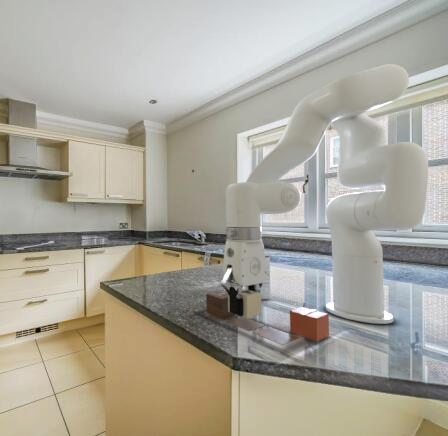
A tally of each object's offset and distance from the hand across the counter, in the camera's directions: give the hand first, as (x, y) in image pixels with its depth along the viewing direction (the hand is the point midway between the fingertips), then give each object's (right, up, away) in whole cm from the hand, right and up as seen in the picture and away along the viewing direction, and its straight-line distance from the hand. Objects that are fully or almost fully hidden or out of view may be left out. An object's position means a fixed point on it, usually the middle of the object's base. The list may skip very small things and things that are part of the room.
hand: (244, 311), depth 58 cm
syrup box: (+15, -4, +21) cm, 26 cm away
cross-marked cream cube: (0, 0, 0) cm, 0 cm away
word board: (0, -3, 0) cm, 3 cm away
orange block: (+11, -3, -6) cm, 13 cm away
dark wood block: (-3, -3, +6) cm, 7 cm away
